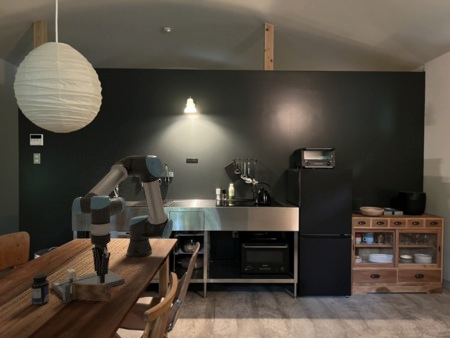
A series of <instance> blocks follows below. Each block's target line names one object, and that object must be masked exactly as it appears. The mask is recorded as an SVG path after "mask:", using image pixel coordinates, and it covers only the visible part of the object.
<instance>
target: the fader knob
mask: <svg viewBox="0 0 450 338" xmlns="http://www.w3.org/2000/svg"><path fill="white" fill-rule="evenodd" d="M66 277H67V279H70V282H73V278H76V277H77V271H76V270H75V269H74V268H69V269H66Z"/></svg>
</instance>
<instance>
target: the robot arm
mask: <svg viewBox="0 0 450 338" xmlns="http://www.w3.org/2000/svg"><path fill="white" fill-rule="evenodd" d="M162 175H163V163H162V160H161V159H160V157H158V156H157V155H151V154H150V155H149V154H148V155H130V156H129V155H128V156H125V157H124V158H122V159H120V160H118V161H117V162H115V163H114V164H113V165H112V166H111V168H110V171H109V172H108V173H107V174H106V175H105V176H103V178H102V179H101V180H100V181H98V183H97V184H96V185H95V186H94V187H93V188H92V189H91V190H90V191H89V192H87V194H86V195H84V196H80V197H76V198H74V200H73V202H72V210H73V212H74V213H75V214H79V215H90V227H89V229H90V233H91V234H90V243H91V244H92V245H94V246H93V247H92V248H91V251H92V257H93V259H92V260H93V267H94V273H95V272H96V273H97V285H105V274H108V270H109V267H110V265H109V264H110V257H111V252H109V251H108V244H109V243H110V242H111V232H112V231H111V229H112V228H111V227H112V225H111V223H112V222H111V217H113V216H116V215H120V214H122V213H123V212H125V210H126V207H127V205H126V204H127V203H126V201H125V200H124V198H123V197H119V196H118V197H117V196H114V197H111V196H109V195H110V194H112V192H113V191H114V190H115V188H117V187H118V186H119V184H120V183H121V182H122V181H125V180H126V179H127V178H130V177H135V178H137V177H138V180H139V182H140V183H141V184H143V189H144V193H145V198H146V202H147V207H148V212H149V215H148V214H147V215H138V216H135V217H131V218H130V220H129V225H128V226H129V243H128V246H127V250H126V256H127V257H132V258H135V257H136V258H139V257H141V258H142V257H147V256H150V255H152V253H153V249H152V248H153V247H152V245H151V242H150V238H151V239H152V238H156V239H157V238H158V239H168V238H169V237H171V234H172V231H173V226H174V221H173V219H172V218H169V216H168V213H166V212H165V209H164V208H165V207H164V204H163V203H164V202H163V199H162V192H161V188H160V183H159V180H160V178H161V176H162Z"/></svg>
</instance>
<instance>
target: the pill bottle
mask: <svg viewBox="0 0 450 338" xmlns="http://www.w3.org/2000/svg"><path fill="white" fill-rule="evenodd" d="M47 278H48V277H47V274H46V273H39V274H35V275H34V276H33V277H32V279H33V280H32V282H31V286H30V290H31V291H30V292H31V296H30V297H31V298H30V299H31V306H35V307H40V306H44V305H46V304H47V303H49V302H50V282H49V280H48V279H47Z"/></svg>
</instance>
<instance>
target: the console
mask: <svg viewBox="0 0 450 338" xmlns="http://www.w3.org/2000/svg"><path fill="white" fill-rule="evenodd" d="M73 282H77V283H81V284H95V285H97V273H96V272H95V271H94V272H91V273H87V274H84V275H79V276H76V278H73ZM65 283H69V284H70V293H71V299H72V282H70V278H66V279H63V280H59V281H54V282H52V283H51V288H52V289H53V291H55V292H56V293H57V294H58V295H59V296H60V297H61V298H62V299H63V284H65ZM122 284H125V278H124V277H122V276H121V275H119V274H117V273H115V272H113V271H111V270H110V269H108V274H105V285H109V286H111V287H115V286H119V285H122Z"/></svg>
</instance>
